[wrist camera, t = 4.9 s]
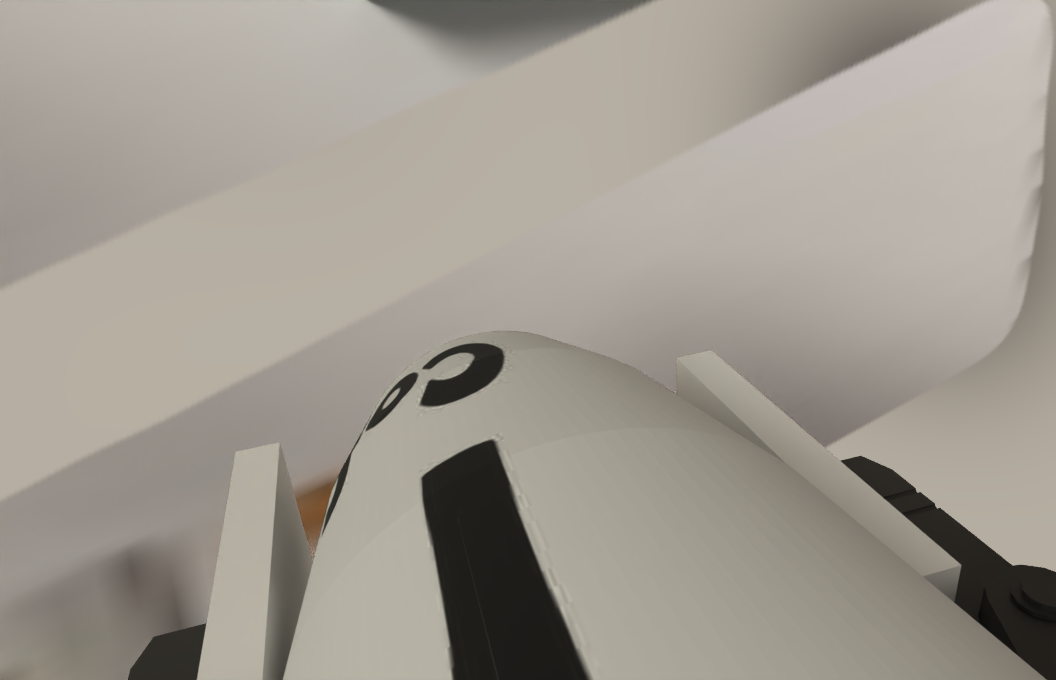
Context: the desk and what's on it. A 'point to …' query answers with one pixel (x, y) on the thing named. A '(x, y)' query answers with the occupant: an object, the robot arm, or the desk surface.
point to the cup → (600, 543)
